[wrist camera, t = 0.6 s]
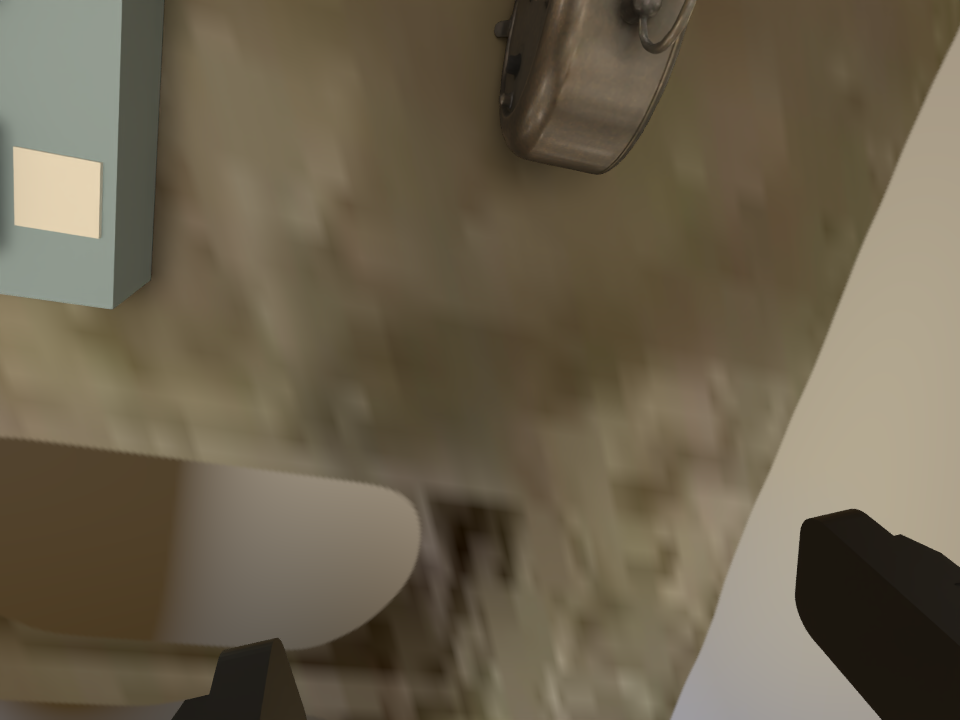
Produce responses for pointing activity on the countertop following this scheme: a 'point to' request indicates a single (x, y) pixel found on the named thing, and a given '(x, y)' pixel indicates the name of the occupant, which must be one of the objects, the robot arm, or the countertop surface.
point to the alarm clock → (585, 76)
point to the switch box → (78, 147)
